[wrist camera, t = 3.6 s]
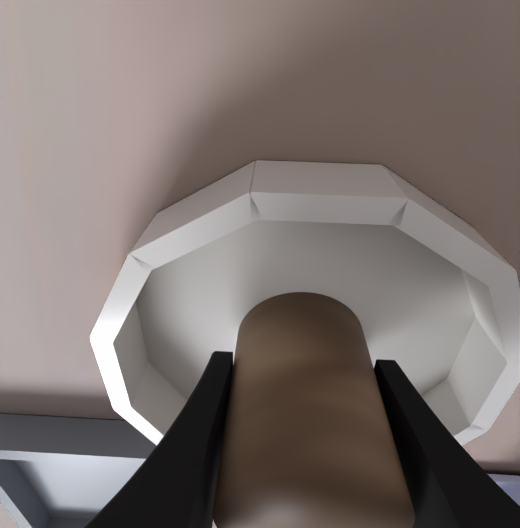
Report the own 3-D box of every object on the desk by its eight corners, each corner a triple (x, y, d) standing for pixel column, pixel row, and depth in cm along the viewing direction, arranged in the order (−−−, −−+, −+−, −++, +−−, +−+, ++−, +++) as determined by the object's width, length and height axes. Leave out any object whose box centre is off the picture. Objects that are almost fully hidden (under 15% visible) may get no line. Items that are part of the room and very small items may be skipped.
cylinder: (374, 295, 12) (442, 477, 7) (352, 385, 15) (389, 566, 10) (236, 288, 12) (206, 463, 7) (238, 379, 15) (216, 554, 10)
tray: (197, 424, 18) (190, 461, 16) (210, 522, 23) (205, 555, 22) (-18, 412, 18) (-46, 447, 16) (48, 511, 24) (32, 543, 22)
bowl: (558, 171, 10) (633, 206, 8) (425, 441, 17) (445, 496, 15) (87, 153, 10) (38, 183, 8) (153, 425, 18) (136, 477, 16)
